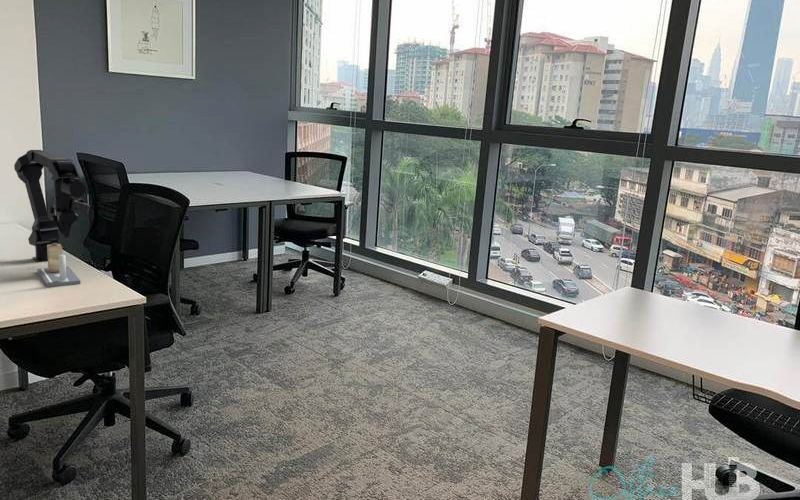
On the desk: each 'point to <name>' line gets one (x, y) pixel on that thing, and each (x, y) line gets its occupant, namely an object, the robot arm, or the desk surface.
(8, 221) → the desk surface
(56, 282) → the gauge board
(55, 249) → the pointer block
